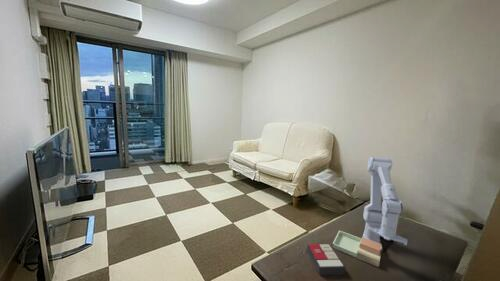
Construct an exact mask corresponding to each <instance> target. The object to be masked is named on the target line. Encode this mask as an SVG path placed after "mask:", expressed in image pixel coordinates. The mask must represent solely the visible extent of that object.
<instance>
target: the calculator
mask: <svg viewBox="0 0 500 281" xmlns="http://www.w3.org/2000/svg"><path fill="white" fill-rule="evenodd" d="M333 249H334V248H332V246H331V245H330V244H329V243H327V244H323V243H322V244H321V243H320V244H314V243H313V244H312V243H311V244H308V245H307V249H306V250H307V253H308V255H309V257H310V259H311V261H312V262H313V264H314V266H315V270H316V271H317V274H318V275H319V276H337V275H338V276H339V275H340V276H344V275H345V269H346V268H345V265H344V264H343V263H342V261H341V260H340V258H339V257H338V255H337V254H336V253H335V251H334V250H333Z"/></svg>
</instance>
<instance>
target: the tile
mask: <svg viewBox="0 0 500 281" xmlns="http://www.w3.org/2000/svg"><path fill="white" fill-rule="evenodd" d="M361 238H362V240H361V243H360V248H361V249H363V250H366V251H368V252H371V253H374V254H376V255H379V254H380V248H381V242H380V243H377V242H374V241H372V240H369V239H366V238H363V236H361Z"/></svg>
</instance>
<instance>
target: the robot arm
mask: <svg viewBox="0 0 500 281" xmlns="http://www.w3.org/2000/svg"><path fill="white" fill-rule="evenodd" d="M392 167H393V160H392V159H391V158H390V157H378V156H377V157H376V156H370V157H369V158H368V159H367V172H368V173H369V174H370V195H369V196H370V200H369V201H370V203H368V204H367V205H365V206H364V207H363V208H364V209H363V220H364V222H365V226H364V231H363V234H362V237H363V238H366V239H369V240H372V241H374V242H377V243H380V244H381V245H382V249H381V253H383V254H387V252H388V250H389V249H390V247H391V246H393V245H394V243H395V242H397V243H400V244H403V245H404V246H407V244H408V239H407V238H406V237H405V238H404V237H402V236H400V235H398V234H397V228H398V223H399V218H400V215H402V214H403V212H404V205H403V201H401V199H400V198H399V197H398V194H397V191H396V186H394V185H393V184H392V180H391V173H390V172H391V170H392Z"/></svg>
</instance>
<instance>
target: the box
mask: <svg viewBox="0 0 500 281" xmlns="http://www.w3.org/2000/svg"><path fill="white" fill-rule="evenodd" d="M361 238H362V237H359V236H356V235H353V234H351V233H348V232H345V231H341V230H338V232H337V234H336V235H335V238H334V240H333V242H332V244H331V248H332V249H334V250H336V251H339V252H341V253H344V254H346V255H349V256H351V257H353V258H356V256H357V251H358V248H359V244H360V241H361ZM356 259H357V258H356Z"/></svg>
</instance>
